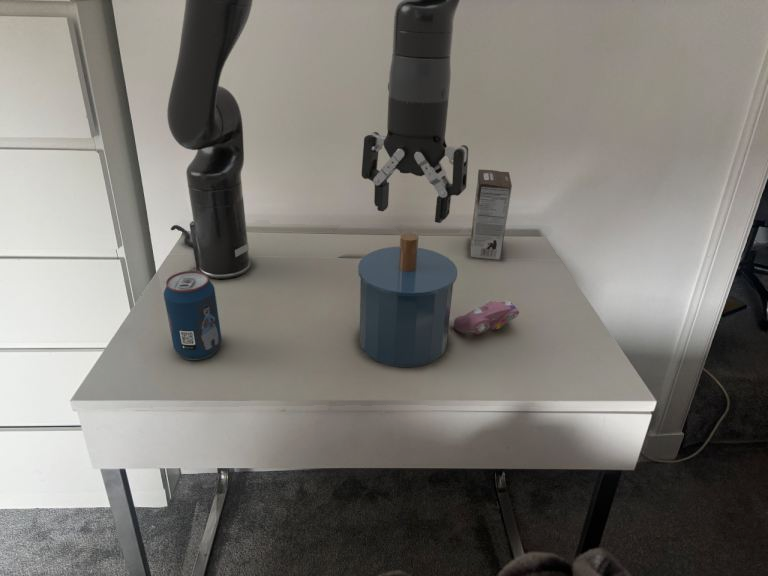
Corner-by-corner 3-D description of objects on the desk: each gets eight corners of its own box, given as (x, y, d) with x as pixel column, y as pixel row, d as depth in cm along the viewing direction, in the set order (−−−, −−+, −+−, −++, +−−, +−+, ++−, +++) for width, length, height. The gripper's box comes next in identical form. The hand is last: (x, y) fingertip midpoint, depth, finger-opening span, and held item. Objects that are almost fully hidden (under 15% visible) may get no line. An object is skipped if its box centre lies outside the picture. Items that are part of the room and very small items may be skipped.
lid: (340, 285, 78) (339, 245, 75) (382, 246, 89) (383, 210, 86) (437, 310, 73) (441, 268, 70) (468, 265, 85) (473, 228, 81)
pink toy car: (462, 347, 89) (478, 324, 83) (449, 323, 91) (464, 300, 85) (510, 332, 93) (528, 310, 87) (497, 310, 95) (514, 287, 89)
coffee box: (469, 239, 121) (478, 168, 113) (499, 242, 121) (509, 170, 113) (469, 257, 114) (478, 182, 106) (501, 260, 113) (512, 185, 105)
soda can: (184, 334, 86) (172, 267, 80) (227, 336, 86) (219, 269, 80) (167, 361, 80) (153, 291, 74) (214, 364, 80) (204, 293, 74)
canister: (345, 352, 84) (344, 280, 78) (381, 310, 95) (383, 244, 89) (428, 377, 79) (435, 303, 73) (456, 330, 90) (464, 262, 84)
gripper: (482, 95, 69) (467, 215, 77) (379, 83, 74) (375, 197, 82) (465, 106, 63) (450, 235, 71) (354, 91, 68) (352, 214, 76)
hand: (410, 215), depth 76 cm, fingers open, 8 cm apart
